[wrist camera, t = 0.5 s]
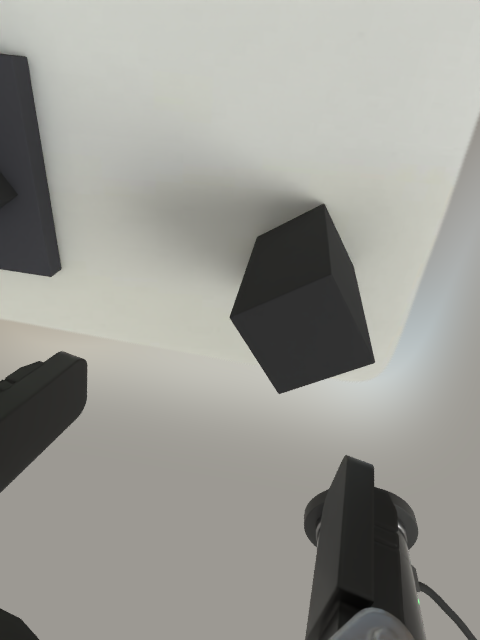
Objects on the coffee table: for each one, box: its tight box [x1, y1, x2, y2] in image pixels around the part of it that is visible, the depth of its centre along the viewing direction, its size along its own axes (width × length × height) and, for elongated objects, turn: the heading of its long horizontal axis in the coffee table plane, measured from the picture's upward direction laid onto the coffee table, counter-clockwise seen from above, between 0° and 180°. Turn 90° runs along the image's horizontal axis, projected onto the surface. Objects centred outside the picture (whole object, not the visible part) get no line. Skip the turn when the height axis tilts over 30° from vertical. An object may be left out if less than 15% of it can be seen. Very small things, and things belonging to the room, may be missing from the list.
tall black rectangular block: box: [230, 204, 375, 394], centre depth 23 cm, size 5×5×11 cm
